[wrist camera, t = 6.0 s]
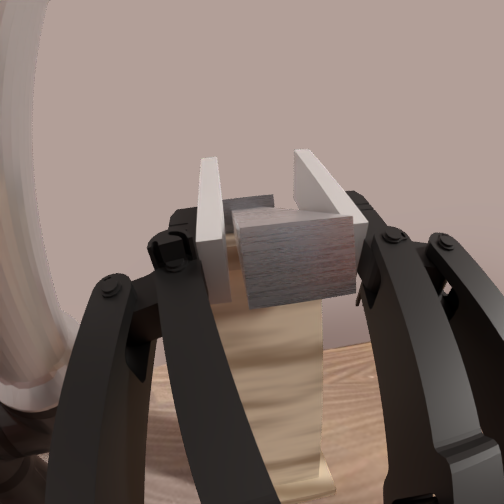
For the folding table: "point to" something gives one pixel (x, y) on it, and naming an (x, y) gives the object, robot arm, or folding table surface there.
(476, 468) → the robot arm
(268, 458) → the pedestal
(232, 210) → the grey long bar
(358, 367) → the folding table surface
